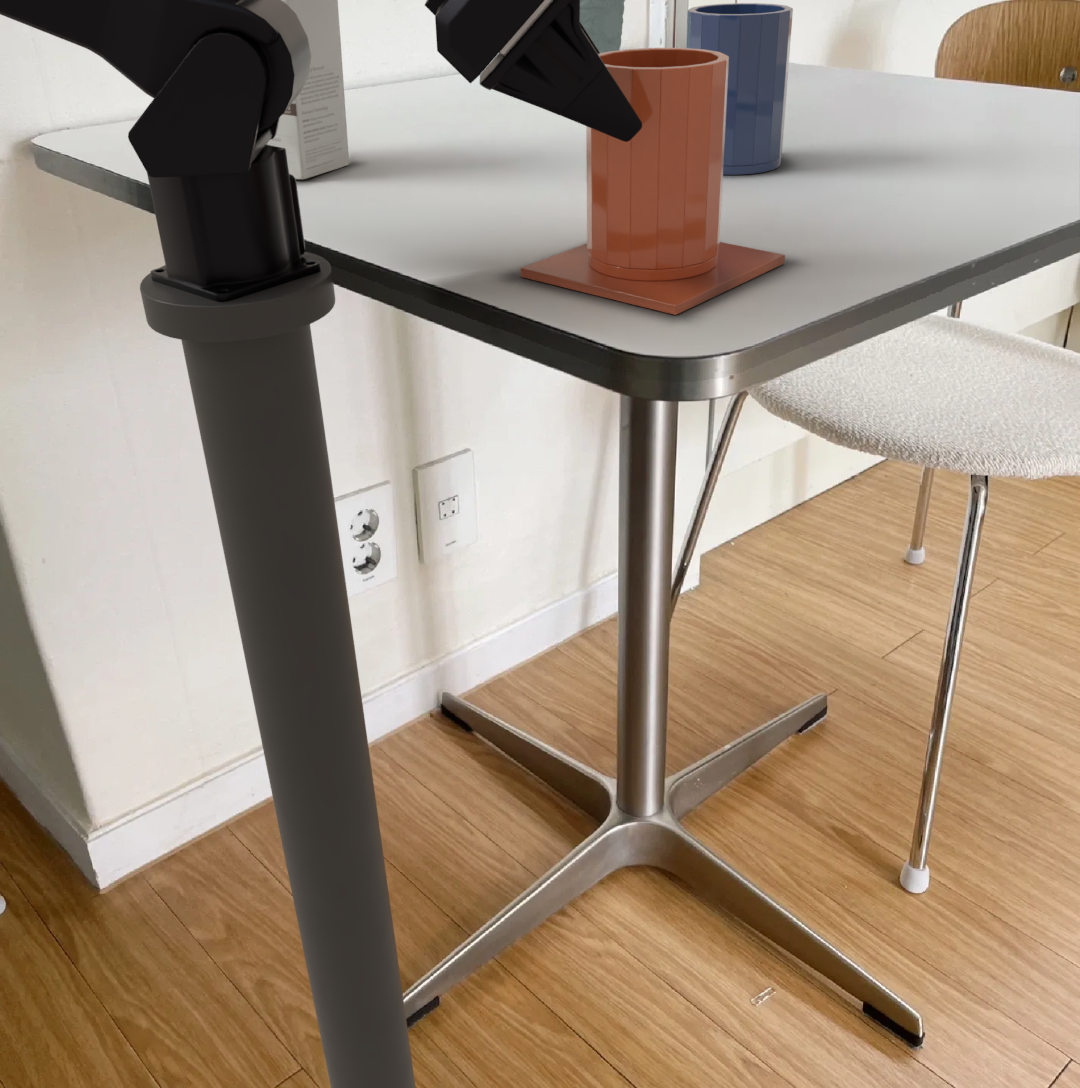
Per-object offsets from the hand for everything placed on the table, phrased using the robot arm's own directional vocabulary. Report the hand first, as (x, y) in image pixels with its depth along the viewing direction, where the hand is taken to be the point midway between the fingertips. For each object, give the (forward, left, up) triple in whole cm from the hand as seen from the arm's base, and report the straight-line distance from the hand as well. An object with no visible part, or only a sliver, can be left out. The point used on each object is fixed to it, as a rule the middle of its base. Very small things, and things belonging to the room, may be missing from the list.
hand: (625, 115), depth 57 cm
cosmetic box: (+5, +35, -8) cm, 36 cm away
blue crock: (+24, +9, -8) cm, 27 cm away
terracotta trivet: (+1, -1, -8) cm, 8 cm away
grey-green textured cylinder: (+47, +42, -8) cm, 64 cm away
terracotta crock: (+1, -1, -7) cm, 8 cm away
